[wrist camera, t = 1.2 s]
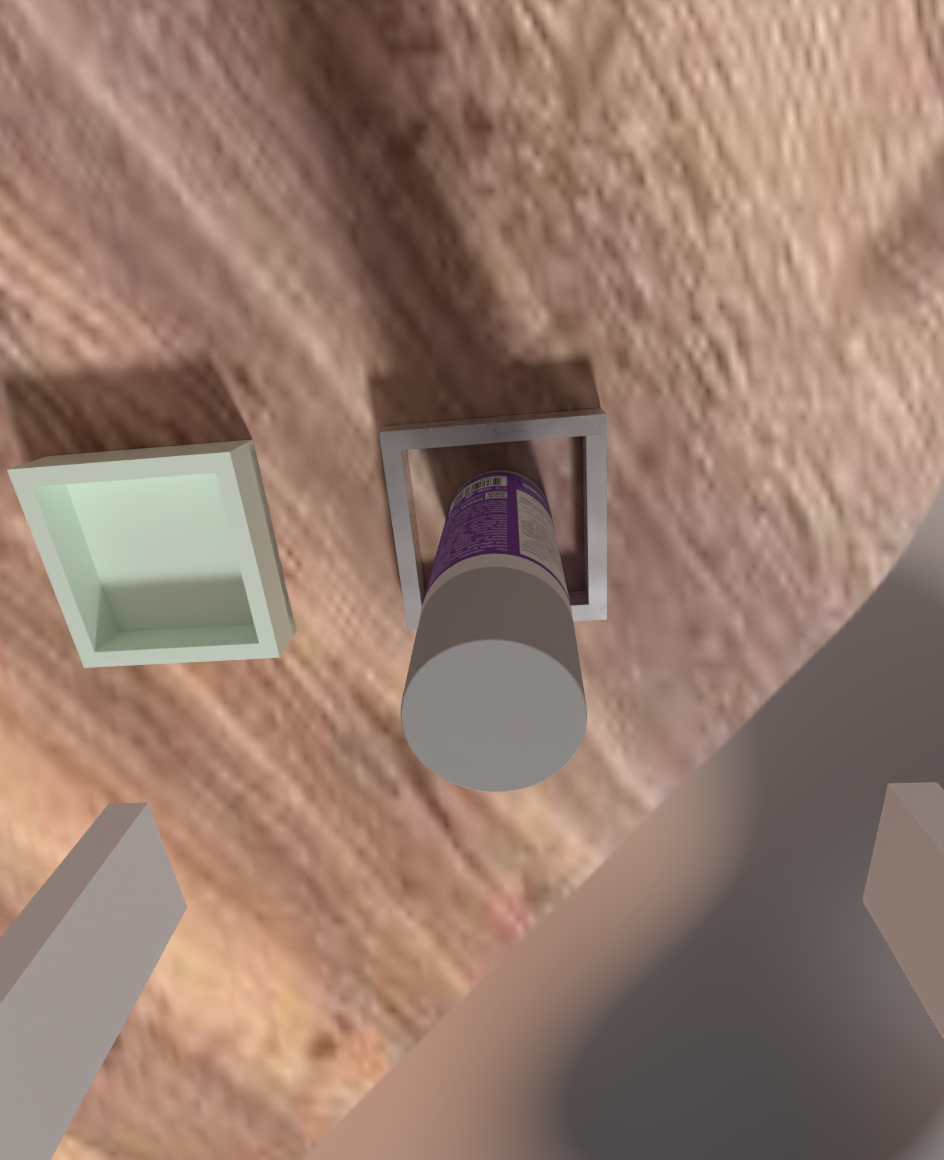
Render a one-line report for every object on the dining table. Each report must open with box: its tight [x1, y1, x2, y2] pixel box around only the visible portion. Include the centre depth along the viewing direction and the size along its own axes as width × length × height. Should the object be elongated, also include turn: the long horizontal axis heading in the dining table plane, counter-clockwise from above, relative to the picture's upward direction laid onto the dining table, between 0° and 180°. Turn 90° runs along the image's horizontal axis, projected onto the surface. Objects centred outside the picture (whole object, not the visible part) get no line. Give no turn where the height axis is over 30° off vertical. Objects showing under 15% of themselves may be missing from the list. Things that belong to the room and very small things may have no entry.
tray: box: [7, 440, 296, 668], centre depth 29 cm, size 10×10×2 cm
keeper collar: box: [379, 408, 607, 630], centre depth 28 cm, size 9×9×2 cm
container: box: [401, 470, 587, 792], centre depth 22 cm, size 5×5×15 cm
